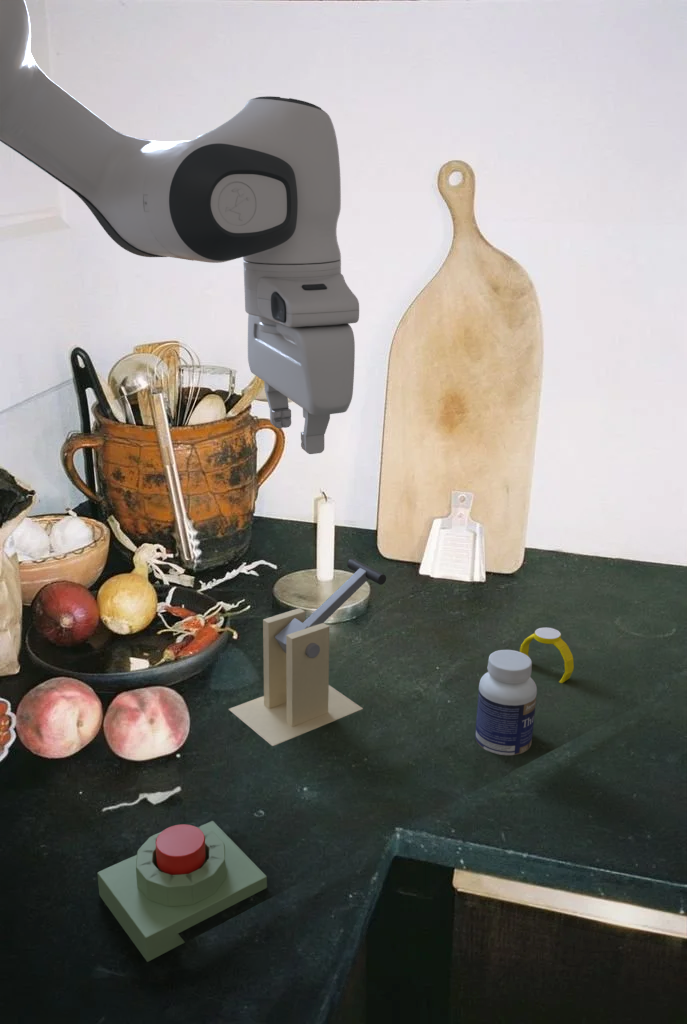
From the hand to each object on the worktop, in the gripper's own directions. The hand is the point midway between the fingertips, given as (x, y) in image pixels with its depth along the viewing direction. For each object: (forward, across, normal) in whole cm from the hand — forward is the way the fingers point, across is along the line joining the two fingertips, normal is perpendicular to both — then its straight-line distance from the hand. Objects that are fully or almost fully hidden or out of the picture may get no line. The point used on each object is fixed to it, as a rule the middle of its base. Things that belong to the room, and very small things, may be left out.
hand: (296, 438), depth 90 cm
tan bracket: (+28, +6, -2) cm, 28 cm away
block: (+27, +26, -18) cm, 42 cm away
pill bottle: (+28, +17, +14) cm, 36 cm away
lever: (+17, +4, +2) cm, 18 cm away
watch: (+28, +8, +25) cm, 39 cm away
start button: (+24, +26, -18) cm, 40 cm away
